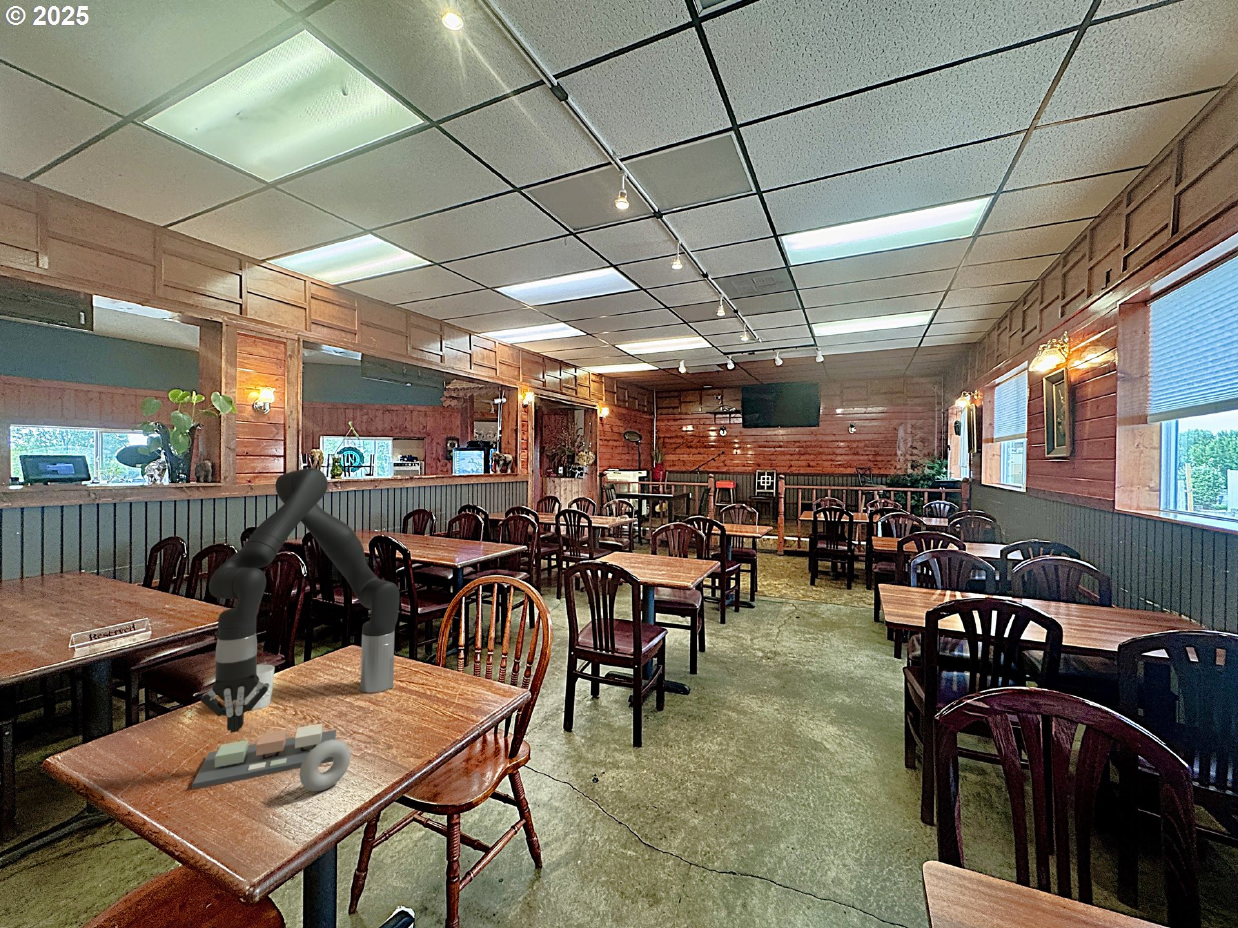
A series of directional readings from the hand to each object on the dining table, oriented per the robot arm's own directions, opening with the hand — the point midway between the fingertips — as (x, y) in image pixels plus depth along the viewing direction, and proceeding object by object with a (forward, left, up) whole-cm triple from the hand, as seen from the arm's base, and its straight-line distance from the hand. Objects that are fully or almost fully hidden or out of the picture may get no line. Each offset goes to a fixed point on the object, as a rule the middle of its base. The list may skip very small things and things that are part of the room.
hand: (235, 730), depth 115 cm
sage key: (0, 0, -8) cm, 8 cm away
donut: (-19, +17, -8) cm, 27 cm away
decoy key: (-7, 0, -7) cm, 10 cm away
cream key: (-15, 0, -7) cm, 16 cm away
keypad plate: (-7, 0, -8) cm, 11 cm away
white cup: (+1, -33, -9) cm, 34 cm away
